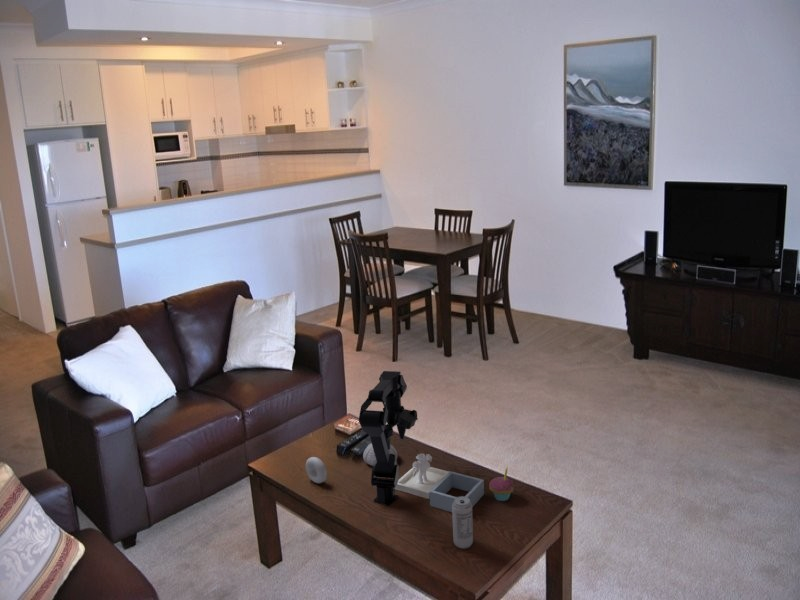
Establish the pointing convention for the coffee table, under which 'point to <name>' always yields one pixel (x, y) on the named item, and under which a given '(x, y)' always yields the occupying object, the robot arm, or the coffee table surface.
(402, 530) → the coffee table surface
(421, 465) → the flower shoulder figurine
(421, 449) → the coffee table surface
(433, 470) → the tray
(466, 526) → the energy drink can
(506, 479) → the cupcake
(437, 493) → the deep square frame
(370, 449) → the sea urchin shell
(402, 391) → the robot arm
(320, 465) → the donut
